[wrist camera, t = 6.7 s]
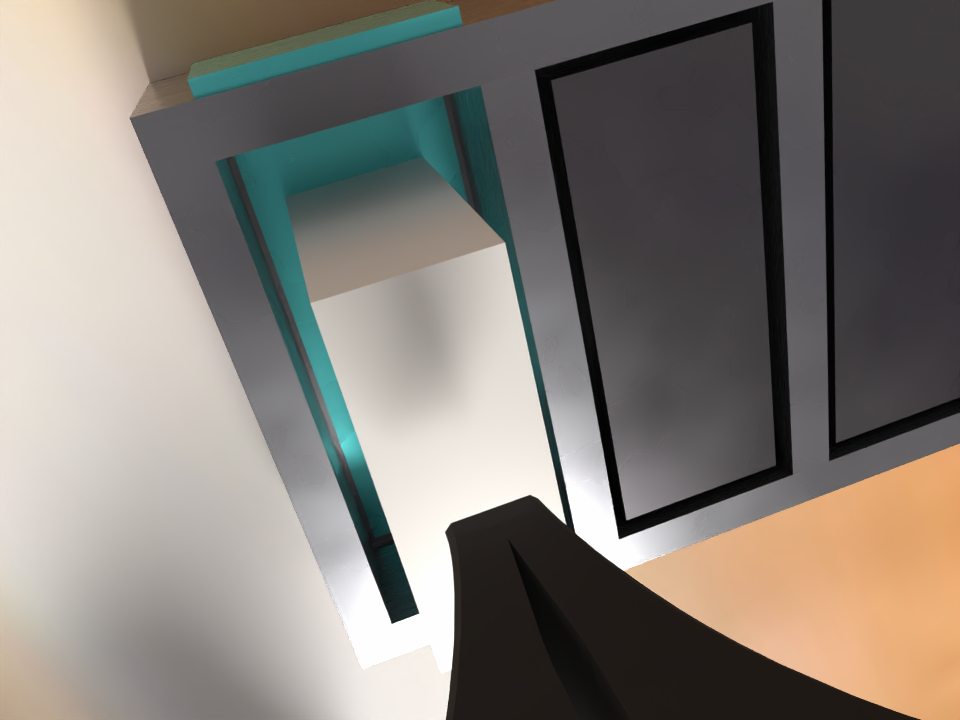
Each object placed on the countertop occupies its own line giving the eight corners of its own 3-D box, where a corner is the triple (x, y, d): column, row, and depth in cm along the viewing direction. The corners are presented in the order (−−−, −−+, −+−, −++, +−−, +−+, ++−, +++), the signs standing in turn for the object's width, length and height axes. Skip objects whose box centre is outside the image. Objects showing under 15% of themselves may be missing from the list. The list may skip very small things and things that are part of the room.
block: (422, 156, 18) (504, 242, 12) (499, 456, 21) (585, 617, 16) (284, 197, 17) (310, 303, 12) (387, 495, 21) (441, 673, 16)
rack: (933, -144, 19) (1092, -166, 15) (912, 356, 25) (1020, 420, 22) (143, 68, 16) (121, 98, 13) (341, 560, 23) (362, 669, 19)
